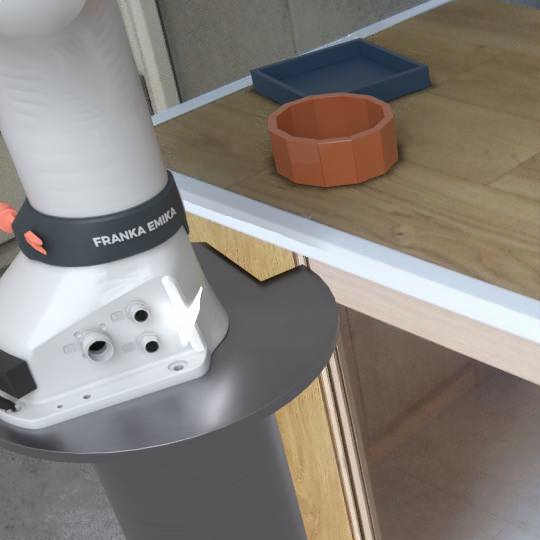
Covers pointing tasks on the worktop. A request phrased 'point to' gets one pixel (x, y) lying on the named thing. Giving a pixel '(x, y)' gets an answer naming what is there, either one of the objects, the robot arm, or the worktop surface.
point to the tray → (342, 73)
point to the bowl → (333, 139)
